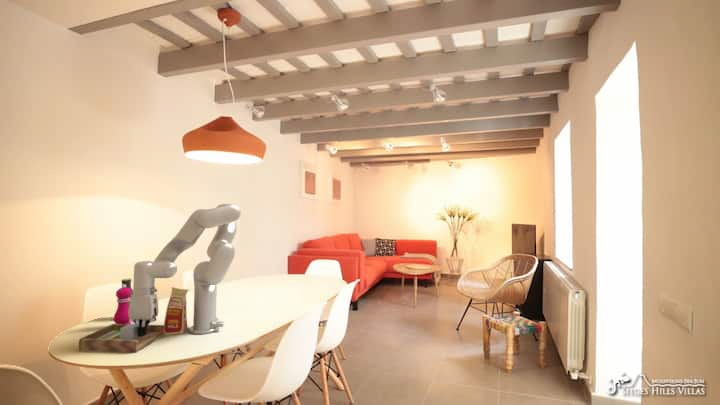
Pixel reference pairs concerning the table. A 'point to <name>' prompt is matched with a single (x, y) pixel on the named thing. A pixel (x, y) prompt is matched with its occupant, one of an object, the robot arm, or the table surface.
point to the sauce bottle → (128, 285)
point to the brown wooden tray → (111, 341)
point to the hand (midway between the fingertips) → (142, 335)
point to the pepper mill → (122, 306)
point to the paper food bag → (176, 313)
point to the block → (129, 332)
